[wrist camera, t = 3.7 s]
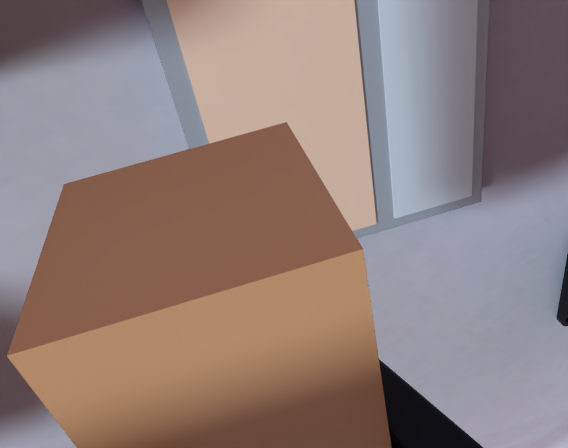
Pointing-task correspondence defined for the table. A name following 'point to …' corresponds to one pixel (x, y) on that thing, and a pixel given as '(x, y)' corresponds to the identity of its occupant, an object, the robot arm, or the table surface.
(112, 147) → the table surface
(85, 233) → the orange rectangular block
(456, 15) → the picture board
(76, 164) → the table surface
